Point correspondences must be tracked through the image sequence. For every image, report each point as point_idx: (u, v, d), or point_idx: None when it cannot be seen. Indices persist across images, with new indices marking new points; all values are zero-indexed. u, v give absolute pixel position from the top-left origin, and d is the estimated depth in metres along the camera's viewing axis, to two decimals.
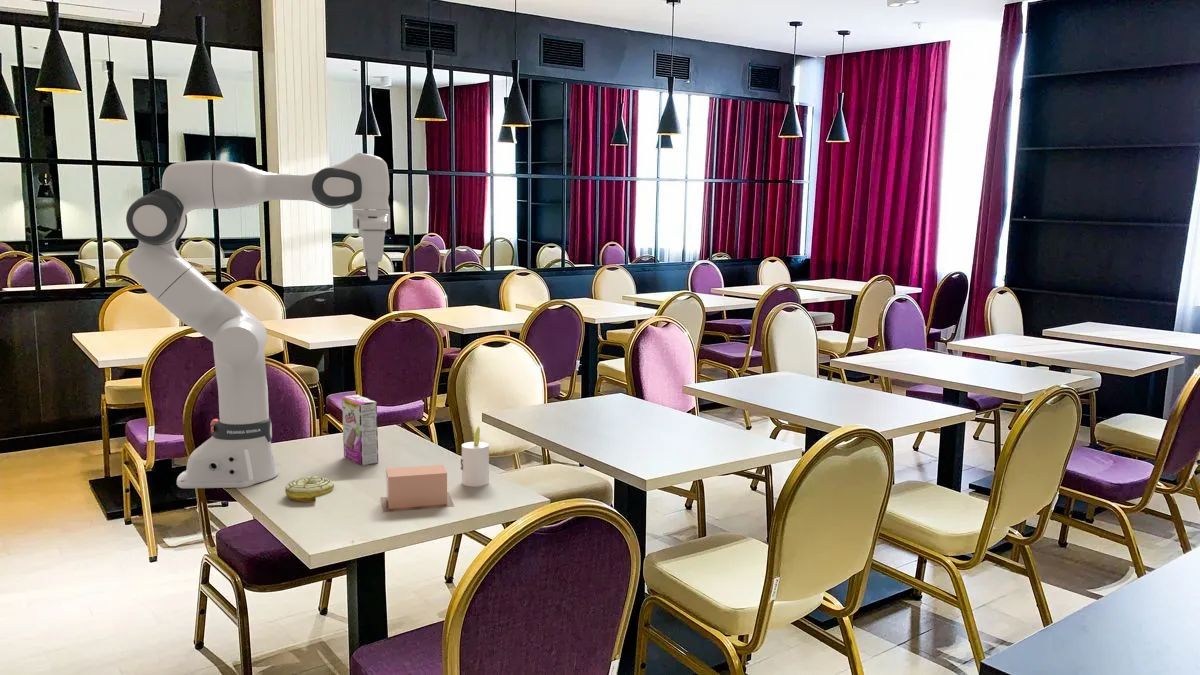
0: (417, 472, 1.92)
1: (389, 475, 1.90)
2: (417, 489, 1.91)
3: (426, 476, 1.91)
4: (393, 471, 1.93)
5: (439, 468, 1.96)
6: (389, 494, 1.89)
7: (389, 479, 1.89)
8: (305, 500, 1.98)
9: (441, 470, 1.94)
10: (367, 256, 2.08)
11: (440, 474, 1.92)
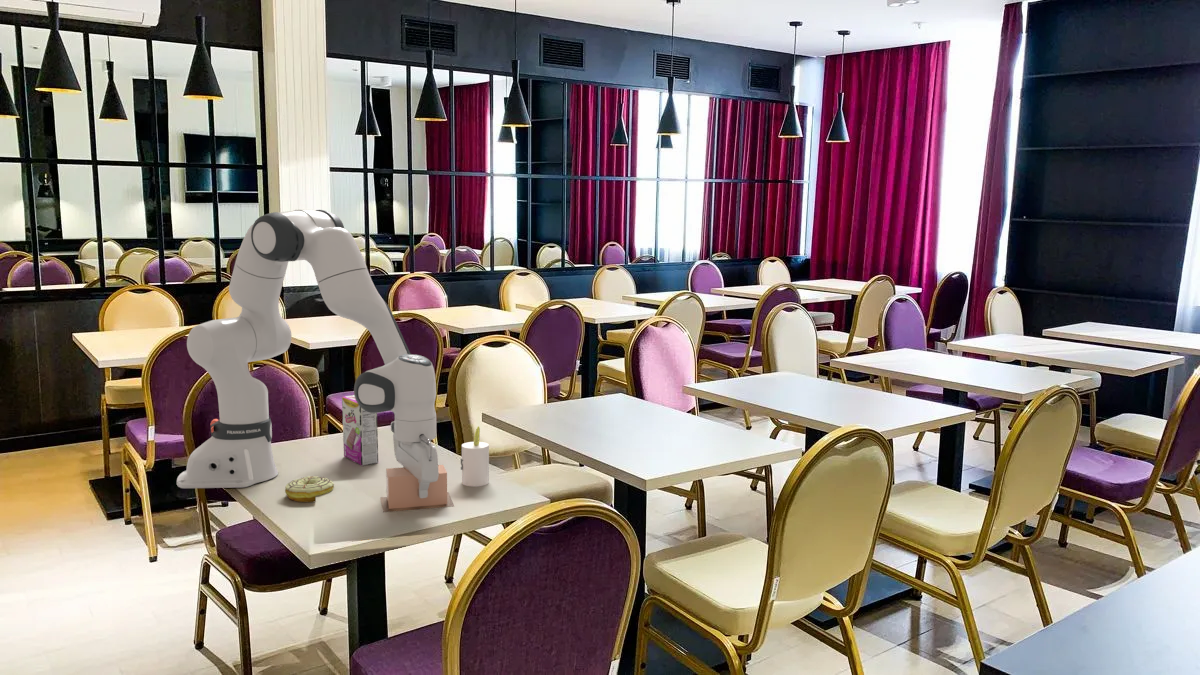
0: None
1: (389, 475, 1.90)
2: (417, 489, 1.91)
3: None
4: (393, 471, 1.93)
5: (439, 468, 1.96)
6: (389, 494, 1.89)
7: (389, 479, 1.89)
8: (305, 500, 1.98)
9: (441, 470, 1.94)
10: None
11: (440, 474, 1.92)
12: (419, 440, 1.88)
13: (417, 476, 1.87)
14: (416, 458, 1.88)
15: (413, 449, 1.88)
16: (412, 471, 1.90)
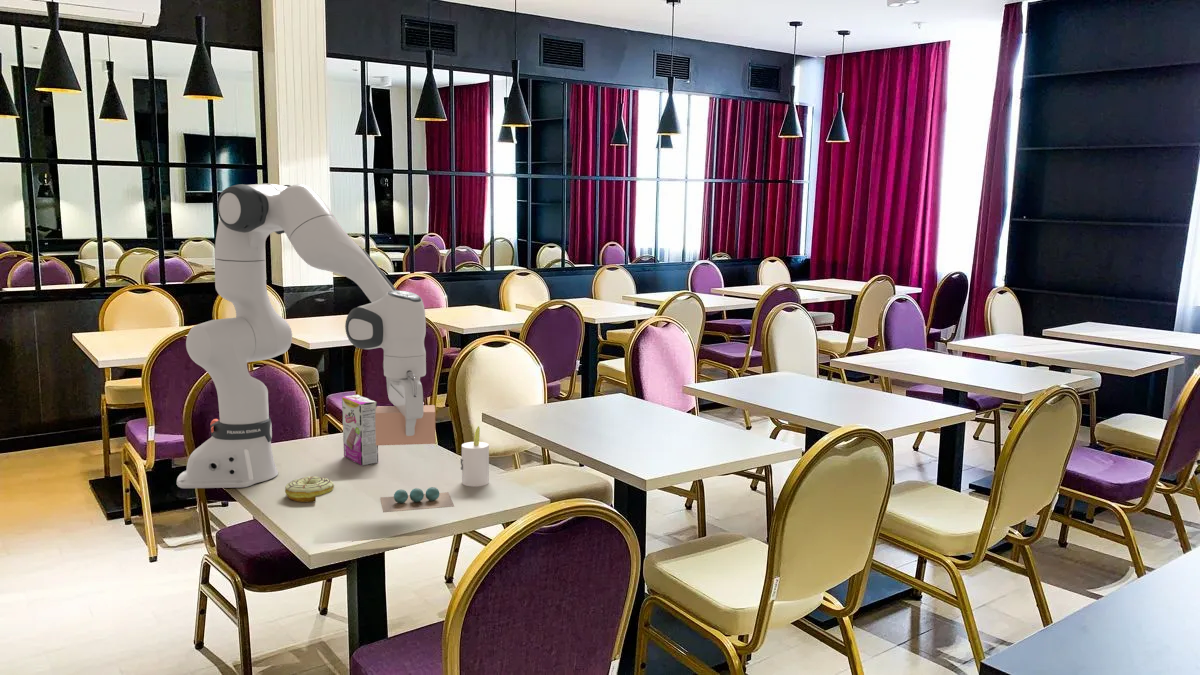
0: None
1: (377, 411, 1.88)
2: None
3: None
4: (382, 408, 1.91)
5: (429, 407, 1.93)
6: (376, 430, 1.88)
7: (376, 415, 1.87)
8: (304, 500, 1.98)
9: (430, 409, 1.92)
10: None
11: (428, 413, 1.89)
12: (406, 376, 1.86)
13: (403, 412, 1.85)
14: (403, 394, 1.85)
15: (400, 385, 1.86)
16: (399, 408, 1.88)
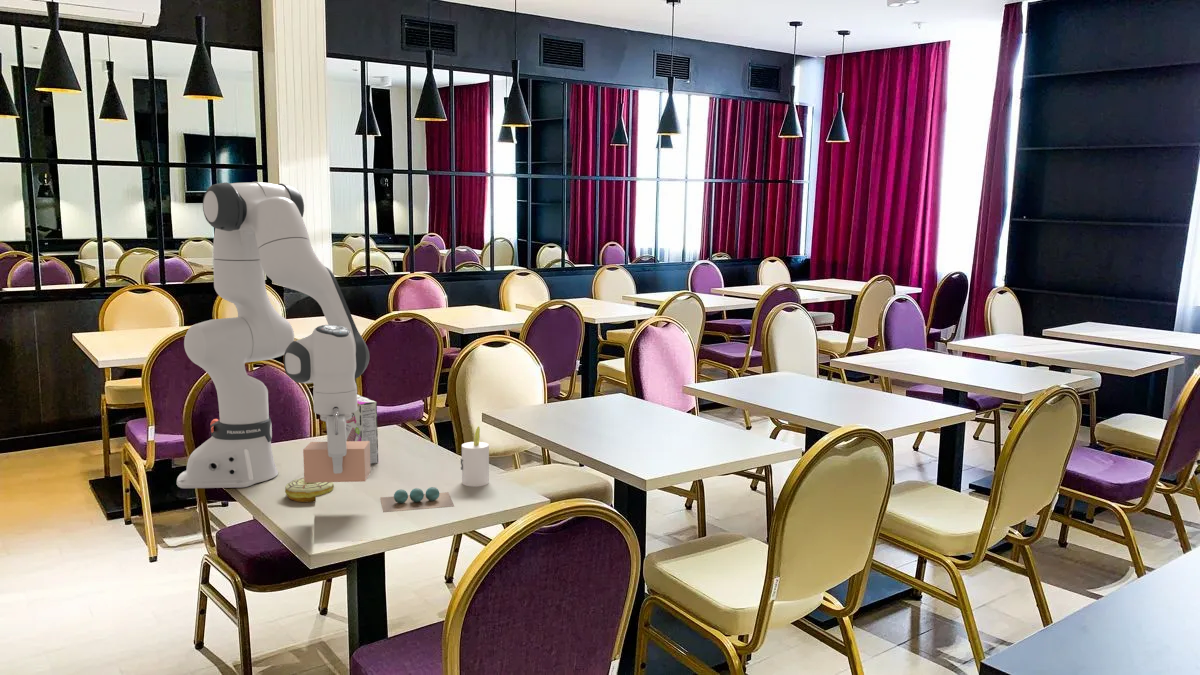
0: None
1: (306, 448, 1.85)
2: None
3: None
4: (314, 444, 1.88)
5: (362, 443, 1.89)
6: (304, 467, 1.85)
7: (304, 452, 1.84)
8: (304, 500, 1.98)
9: (361, 445, 1.87)
10: None
11: (357, 450, 1.85)
12: (333, 413, 1.82)
13: None
14: None
15: None
16: None
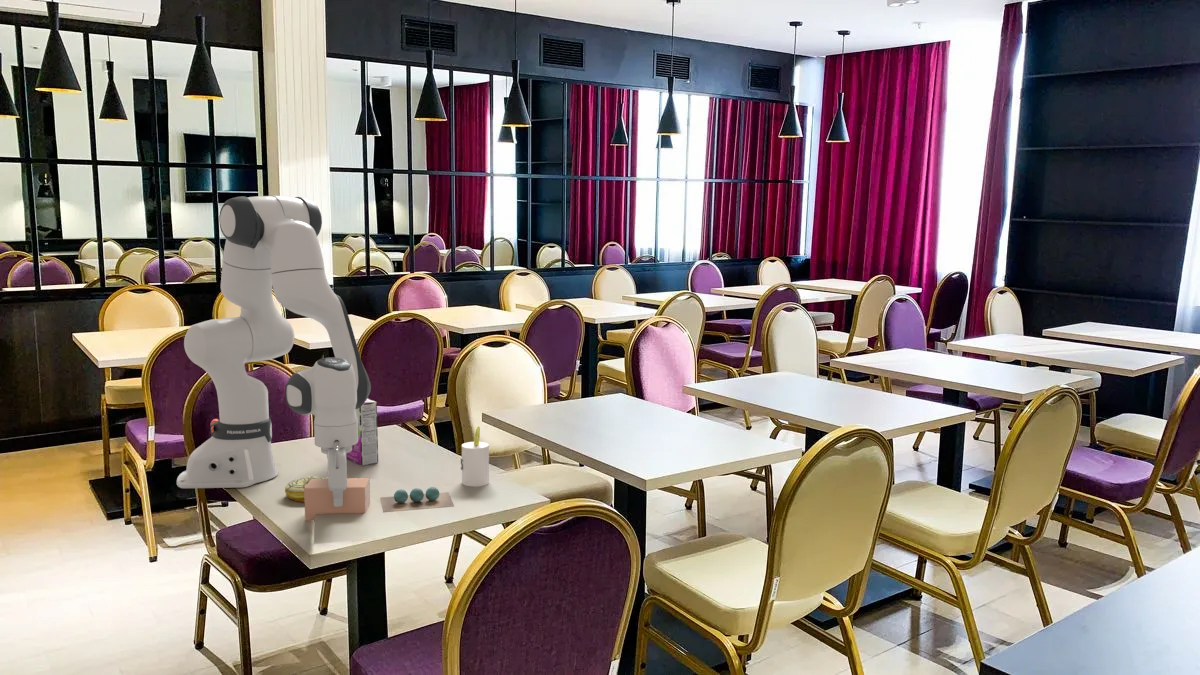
0: None
1: (307, 486, 1.86)
2: None
3: (343, 490, 1.86)
4: (314, 482, 1.89)
5: (362, 481, 1.90)
6: (305, 505, 1.86)
7: (305, 490, 1.85)
8: None
9: (362, 483, 1.89)
10: None
11: (358, 488, 1.86)
12: (333, 446, 1.83)
13: None
14: None
15: None
16: None
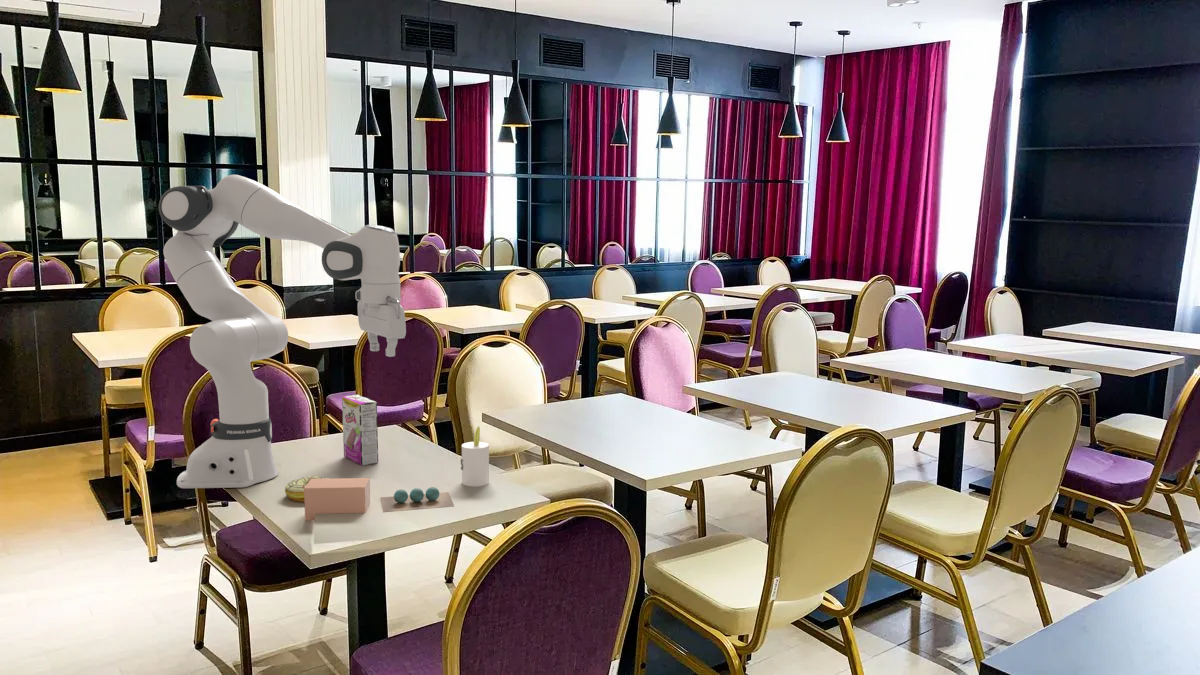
0: (336, 485, 1.88)
1: (307, 486, 1.86)
2: (334, 502, 1.86)
3: (343, 490, 1.86)
4: (314, 482, 1.89)
5: (362, 481, 1.90)
6: (305, 505, 1.86)
7: (305, 490, 1.85)
8: None
9: (362, 483, 1.89)
10: None
11: (358, 488, 1.86)
12: (386, 302, 2.04)
13: (385, 334, 2.03)
14: (384, 318, 2.03)
15: (380, 310, 2.04)
16: (379, 332, 2.05)
